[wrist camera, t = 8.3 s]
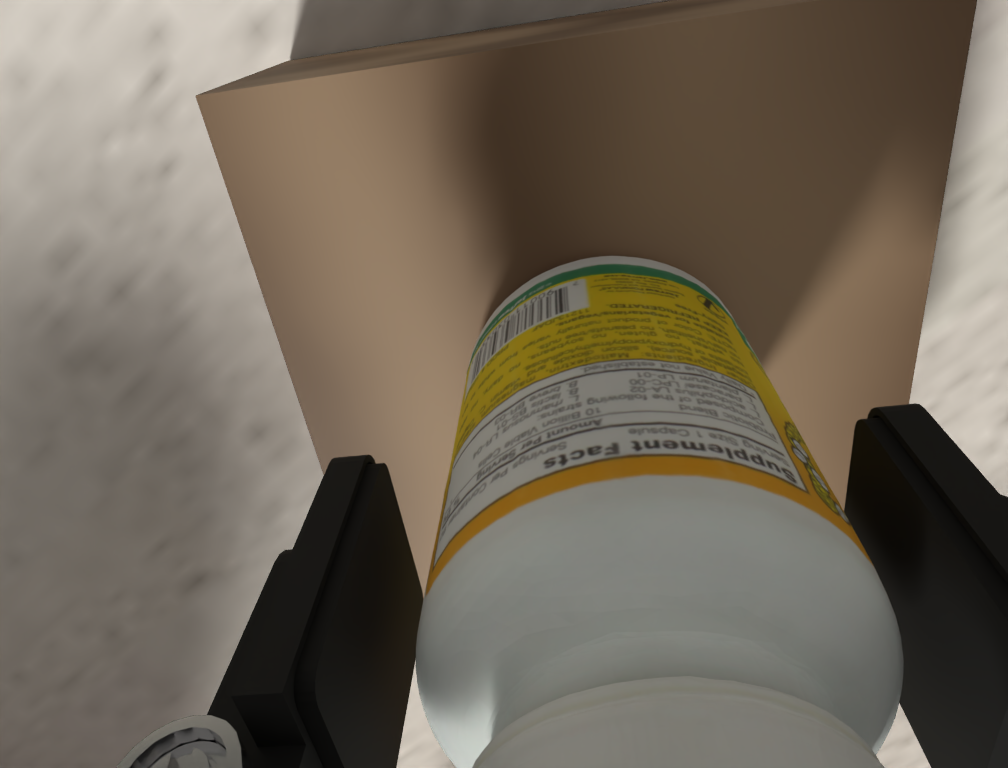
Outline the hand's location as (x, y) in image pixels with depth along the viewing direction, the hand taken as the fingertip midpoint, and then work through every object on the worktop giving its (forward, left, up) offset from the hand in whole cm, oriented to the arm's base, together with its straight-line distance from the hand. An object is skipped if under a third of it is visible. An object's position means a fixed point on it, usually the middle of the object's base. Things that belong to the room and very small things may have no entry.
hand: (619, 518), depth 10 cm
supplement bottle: (0, 0, -4) cm, 4 cm away
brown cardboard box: (0, 0, -9) cm, 9 cm away
